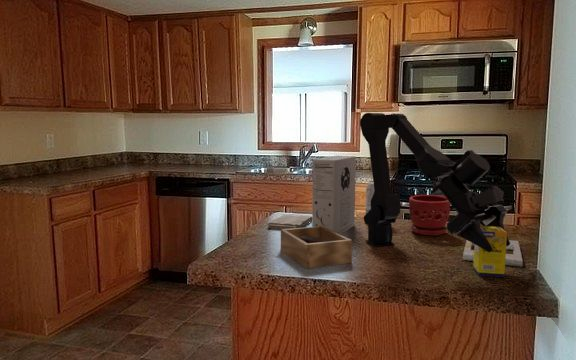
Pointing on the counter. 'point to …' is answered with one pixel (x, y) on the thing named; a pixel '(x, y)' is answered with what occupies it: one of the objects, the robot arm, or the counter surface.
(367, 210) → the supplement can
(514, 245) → the plate
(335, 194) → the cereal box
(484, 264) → the supplement box
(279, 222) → the washcloth
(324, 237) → the oak box
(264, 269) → the counter surface
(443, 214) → the plant pot
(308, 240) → the brick
